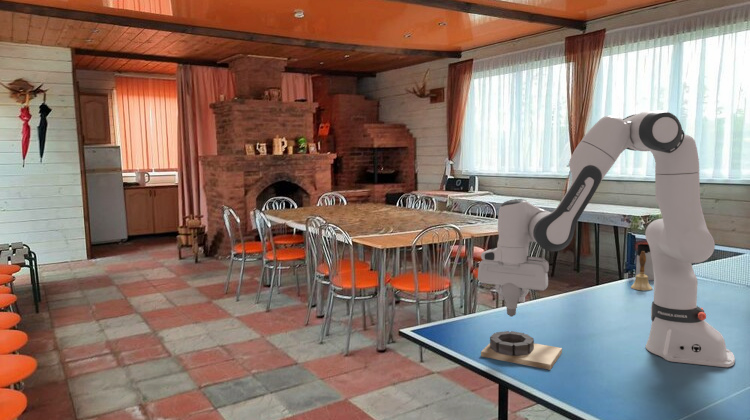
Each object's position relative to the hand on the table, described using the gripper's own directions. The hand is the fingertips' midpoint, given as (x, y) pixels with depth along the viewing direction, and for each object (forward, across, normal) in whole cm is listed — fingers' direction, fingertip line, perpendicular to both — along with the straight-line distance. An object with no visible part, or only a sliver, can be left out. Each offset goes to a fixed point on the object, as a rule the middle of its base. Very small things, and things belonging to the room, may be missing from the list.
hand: (511, 300), depth 159 cm
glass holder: (+15, -25, -120) cm, 124 cm away
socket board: (+16, -3, 0) cm, 16 cm away
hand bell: (+16, -26, -97) cm, 102 cm away
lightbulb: (+5, 0, 0) cm, 5 cm away
